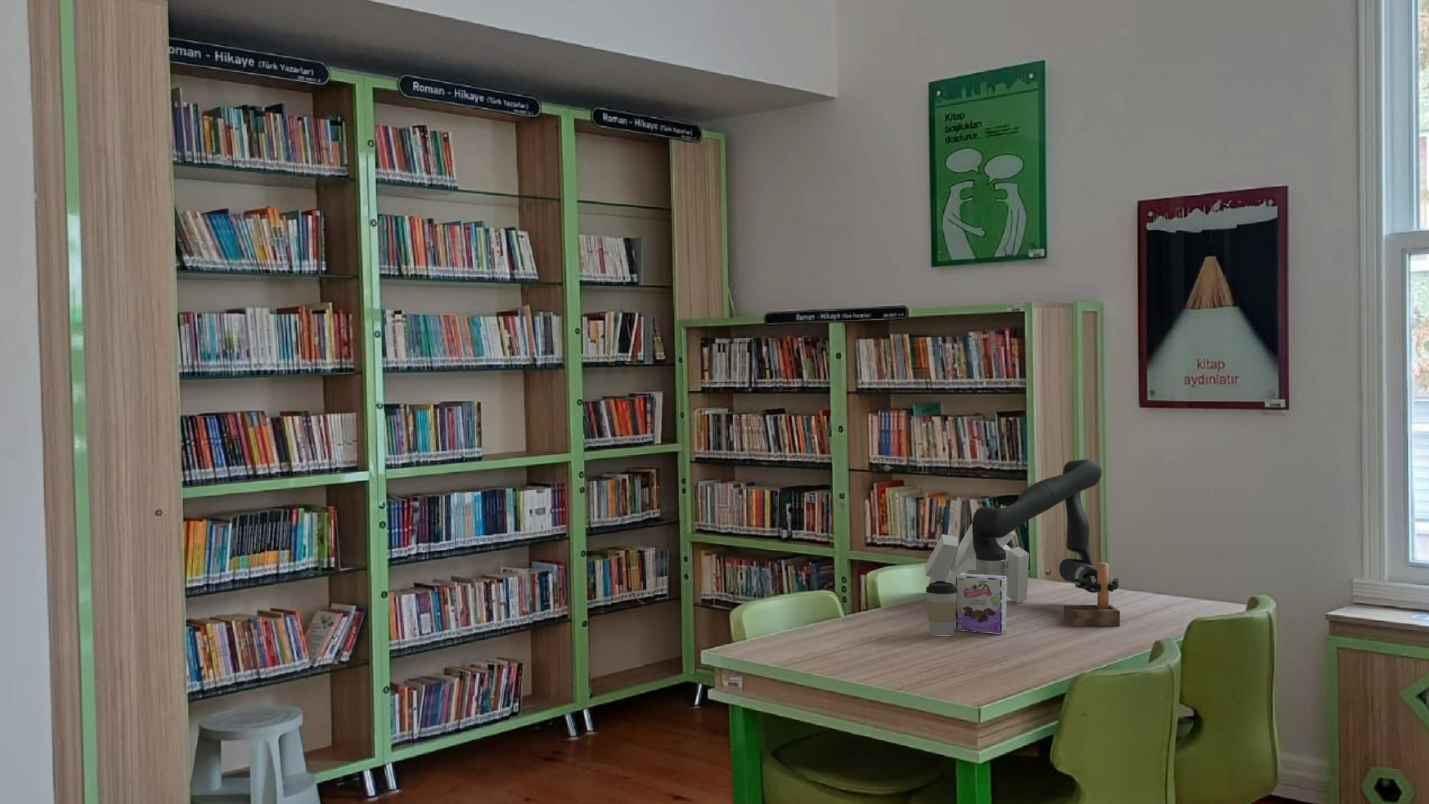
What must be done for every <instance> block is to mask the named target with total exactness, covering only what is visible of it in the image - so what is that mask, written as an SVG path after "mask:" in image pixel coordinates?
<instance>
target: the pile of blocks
mask: <svg viewBox="0 0 1429 804" xmlns="http://www.w3.org/2000/svg"><path fill="white" fill-rule="evenodd" d="M1015 536H1016V533H1015V532H1014V530H1013V531H1012V532H1010V533H1009V534H1008V535H1006V536H1004V537H1001V538H996V541H997V543H998V544H999V545H1000V546H1001V547H1002V548H1003V549H1004V550H1005V551H1006V564H1007V576H1006V597H1008V599H1010V600H1012V601H1013V602H1014V603H1016V604H1019V603H1021V602H1025V601H1027V599H1028V586H1029V585H1028V583H1029V564H1030V553H1029V552H1028V551H1026V550H1024V549H1023V548H1022V547H1020V546H1017V547H1013V548H1010V546H1009V545H1007V544H1008V543H1009V542H1010V541H1011V540H1012V539H1013V538H1014V537H1015ZM951 572H953V573H952V574H951ZM924 573H925V577H929V579H930V580H929V581H928V582H929V583H928V586H929V584H930V583H934V582H935V581H944V582H947V583H952V584H953V585H954V587H956V575H958V574H960V573H966V574H976V553H975V551H974V547H973V533H972V523H971V524H970V526H969V527H968V530H967V531H966V532H965V535H964V536H963V538H962V540H961V542H960V543H959V539H958V536H955V535H951V534H949V535H948V534H941V536H940V537H939V540H938V541H937V543H936V545H935V547H934V549H933V551H932V552H931V554H930V556H929V557H928V560H927V562H926V563H925V565H924ZM928 586H927V587H928Z"/></svg>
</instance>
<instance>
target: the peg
mask: <svg viewBox="0 0 1429 804" xmlns="http://www.w3.org/2000/svg"><path fill="white" fill-rule="evenodd" d="M1096 565H1097V567H1096V568H1097V583H1099V584H1100V585H1101V592H1098V591H1097V597H1096V598H1097V605H1098V609H1109V605H1110V603H1109V601H1110V600H1109V599H1110V598H1109V597H1110V595H1109V594H1110V593H1109V592H1110V591H1109V579H1110V578H1109V575H1110V574H1109V571H1110V570H1109V569H1110V568H1109V563H1108V562H1097V564H1096Z"/></svg>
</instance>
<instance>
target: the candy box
mask: <svg viewBox="0 0 1429 804" xmlns="http://www.w3.org/2000/svg"><path fill="white" fill-rule="evenodd" d="M956 587H957V591H958V592H957V597H956V600H957V606H956V620H955V630H956V629H957V630H966V631H965V632H967V630H968V631H976V632H993V633H994V632H995V633H1003V632H1005V631H1006V632H1007V609H1006V607H1007V575H1006V576H995V575H981V574H966V573H960V574H958V575H956ZM976 632H975V633H976ZM1006 632H1005V633H1006ZM1003 634H1004V633H1003Z"/></svg>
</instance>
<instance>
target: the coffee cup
mask: <svg viewBox="0 0 1429 804" xmlns="http://www.w3.org/2000/svg"><path fill="white" fill-rule="evenodd" d="M928 585H929V586H926V588H925V592H926V610H927V620H928V625H929V626H928V627H929V628H928V629H929V634H930V633H931V634H933V635H953V634H954V635H955V629H956V606H957V600H956V597H957V592H958V591H957V587H954V585H953V584H952V583H947V582H944V581H935V582H934V583H930V584H929V583H928ZM954 635H953V636H954Z"/></svg>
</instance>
